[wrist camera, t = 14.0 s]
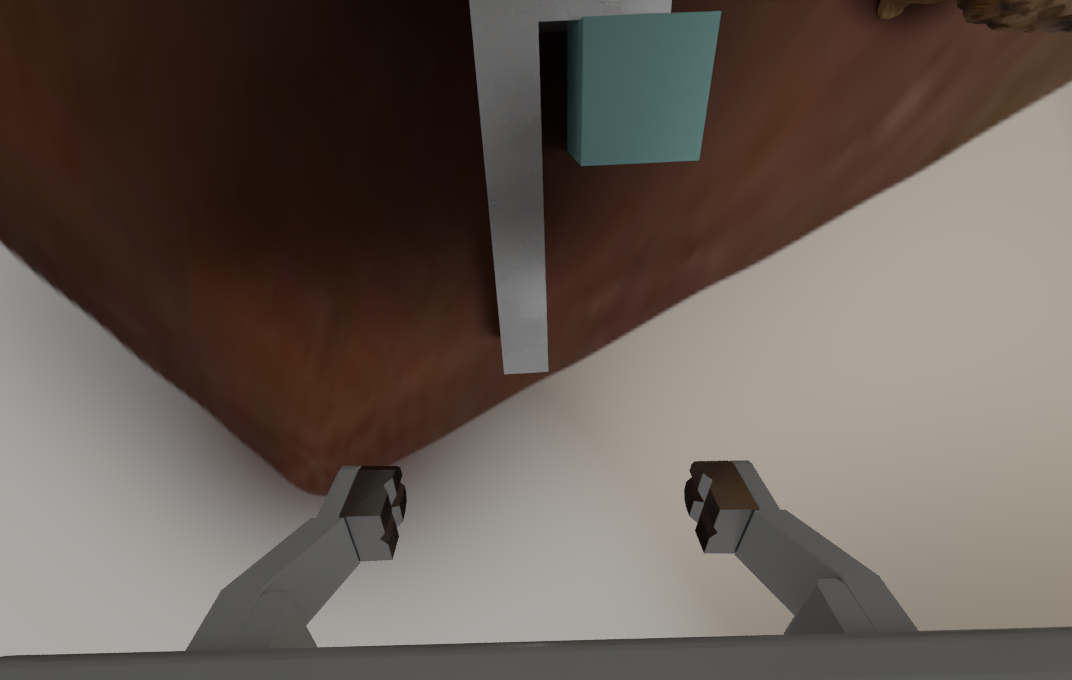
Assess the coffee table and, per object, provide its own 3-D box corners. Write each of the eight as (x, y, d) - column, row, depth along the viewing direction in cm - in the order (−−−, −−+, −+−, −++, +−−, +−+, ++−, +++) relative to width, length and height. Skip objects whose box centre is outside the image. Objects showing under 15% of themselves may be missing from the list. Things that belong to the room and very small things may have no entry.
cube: (674, 28, 19) (721, 11, 15) (661, 146, 22) (699, 160, 18) (566, 32, 19) (583, 16, 15) (566, 151, 22) (580, 166, 18)
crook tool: (646, -28, 18) (677, -55, 15) (619, 331, 28) (635, 366, 24) (473, -22, 18) (464, -47, 15) (505, 338, 27) (504, 374, 24)
